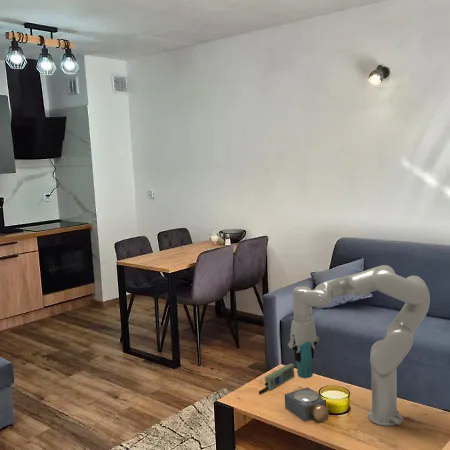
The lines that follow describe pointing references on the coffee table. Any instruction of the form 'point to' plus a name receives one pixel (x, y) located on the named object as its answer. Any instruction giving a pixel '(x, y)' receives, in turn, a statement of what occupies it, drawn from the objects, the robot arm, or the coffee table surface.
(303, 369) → the beverage bottle
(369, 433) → the coffee table surface
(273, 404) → the coffee table surface
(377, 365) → the robot arm
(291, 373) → the handheld radio
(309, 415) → the motor housing
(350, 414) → the coffee table surface
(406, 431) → the coffee table surface
